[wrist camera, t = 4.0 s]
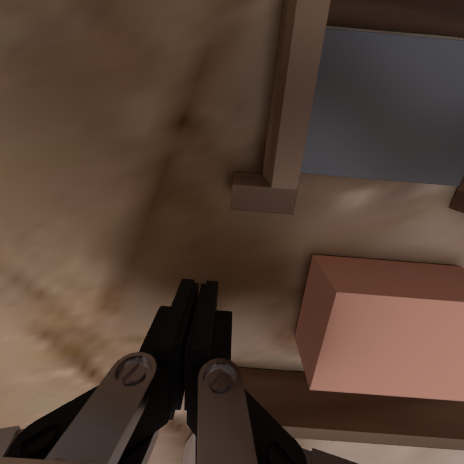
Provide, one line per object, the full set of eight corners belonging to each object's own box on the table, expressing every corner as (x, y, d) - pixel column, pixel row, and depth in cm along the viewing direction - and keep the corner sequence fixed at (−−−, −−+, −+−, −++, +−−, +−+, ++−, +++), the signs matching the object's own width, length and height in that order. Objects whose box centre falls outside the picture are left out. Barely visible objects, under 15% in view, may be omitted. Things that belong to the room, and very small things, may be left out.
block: (312, 254, 12) (336, 292, 9) (459, 266, 12) (530, 307, 9) (294, 336, 13) (309, 389, 11) (421, 346, 13) (470, 401, 11)
